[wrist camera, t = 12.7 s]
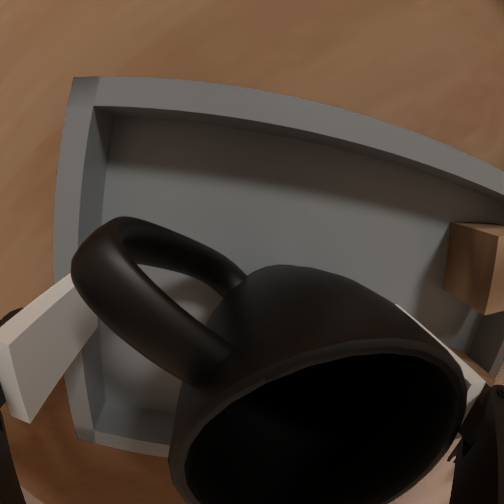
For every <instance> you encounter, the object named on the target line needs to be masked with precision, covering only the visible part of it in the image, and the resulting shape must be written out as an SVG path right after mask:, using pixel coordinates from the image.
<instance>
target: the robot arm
mask: <svg viewBox="0 0 504 504" xmlns="http://www.w3.org/2000/svg"><path fill="white" fill-rule="evenodd" d="M395 305H396V306H397V307H399V308H400V309H401V310H402V311H404V312H405V313H406V314H407V315H408V316H410V317H411V318H412V319H413V320H414V321H415V322H417V323H418V324H419V325H420V326H421V327H422V328H423V329H425V330H426V331H427V332H428V333H429V334H430V335H431V336H432V337H434V338H435V339H436V340H437V341H438V342H439V343H440V344H441V345H443V346H444V347H445V348H446V349H447V350H448V351H449V353H450V354H451V355H452V356H453V358H454V359H455V360H456V361H457V362H458V364H459V365H460V366H461V369H462V372H463V375H464V379H465V382H466V386H467V406H466V412H465V415H464V418H463V421H462V424H461V427H460V430H459V434H460V435H461V436H462V438H461V440H460V441H459V443H458V444H457V446H456V447H455V449H454V450H453V452H452V453H451V455H450V456H449V457H448V460H447V461H449V462H450V460H451V459H452V457H454V456H456V459H455V460H454V462H453V463H455V470H454V478H453V485H452V491H451V497H450V502H449V504H504V386H503V385H494V386H492V387H490V386H489V385H488V384H487V383H486V381H485V380H483V379H482V378H481V377H480V376H479V375H478V374H477V373H476V372H475V371H474V370H473V369H471V368H470V367H469V366H468V365H467V364H466V363H465V362H464V361H463V360H462V359H460V358H459V357H458V356H457V355H456V354H455V353H454V352H453V351H451V350H450V349H449V348H448V347H447V346H446V345H445V344H443V343H442V342H441V341H440V340H439V339H438V338H437V337H435V336H434V335H433V334H432V333H431V332H430V331H429V330H427V329H426V328H425V327H424V326H423V325H422V324H420V323H419V322H418V321H417V320H416V319H415V318H413V317H412V316H411V315H410V314H409V313H407V312H406V311H405V310H404V309H403V308H402V307H400V306H399V305H398V304H395ZM97 327H98V317H97V315H96V314H95V313H94V312H93V311H92V310H91V309H90V308H89V307H88V305H87V304H86V303H85V302H84V300H83V299H82V298H81V296H80V295H79V293H78V292H77V290H76V288H75V286H74V284H73V282H72V279H71V273H70V274H68V275H67V276H66V277H64V278H63V279H61V280H60V281H59V282H57V283H56V284H55V285H53V286H52V287H51V288H49V289H48V290H47V291H45V292H44V293H43V294H41V295H40V296H39V297H38V298H36V299H35V300H34V301H32V302H31V303H30V304H29V305H27V306H26V307H25V308H19V309H16V310H14V311H11V312H10V313H8V314H7V315H6V316H4V317H3V318H2V320H0V408H1V407H2V406H3V404H4V403H5V402H6V404H7V407H8V410H9V413H10V415H11V416H12V417H14V418H17V419H19V420H22V421H24V422H27V423H29V424H31V422H32V421H33V419H34V418H35V416H36V415H37V413H38V411H39V410H40V408H41V407H42V405H43V404H44V402H45V401H46V399H47V398H48V396H49V395H50V393H51V392H52V390H53V389H54V387H55V386H56V384H57V383H58V381H59V380H60V379H61V377H62V376H63V374H64V373H65V371H66V370H67V368H68V367H69V366H70V364H71V363H72V361H73V360H74V359H75V357H76V356H77V354H78V353H79V352H80V350H81V349H82V347H83V346H84V345H85V343H86V342H87V341H88V339H89V338H90V336H91V335H92V334H93V332H94V331H95V330H96V328H97ZM0 504H26V502H25V499H24V496H23V493H22V490H21V487H20V484H19V481H18V478H17V475H16V471H15V468H14V464H13V460H12V457H11V453H10V449H9V445H8V440H7V436H6V431H5V426H4V421H3V417H2V414H1V411H0Z"/></svg>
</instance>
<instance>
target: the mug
mask: <svg viewBox="0 0 504 504" xmlns="http://www.w3.org/2000/svg"><path fill="white" fill-rule="evenodd" d="M137 264H141V265H147V266H152V267H157V268H162V269H166V270H170V271H174V272H178V273H181V274H185V275H188V276H190V277H193V278H195V279H198V280H200V281H201V282H203V283H205V284H207V285H208V286H209V287H211V288H212V289H213V290H215V291H216V292H217V293H218V294H219V295H220V296H221V297H222V298H223V300H222V301H221V302H220V303H219V304H218V306H217V307H216V308H215V310H214V311H213V312H212V314H211V315H210V317H209V319H208V321H207V322H206V324H205V325H203V324H202V323H201V322H199V321H198V320H197V319H196V318H194V317H193V316H192V315H190V314H189V313H188V312H187V311H185V310H184V309H183V308H182V307H181V306H179V305H178V304H177V303H176V302H175V301H174V300H172V299H171V298H170V297H169V296H168V295H167V294H166V293H165V292H164V291H163V290H161V289H160V288H159V287H158V286H157V285H156V284H155V283H154V282H153V281H152V280H151V279H150V278H149V277H148V276H147V275H146V274H145V273H144V272H143V271H142V269H141V268H140V267H139V266H138V265H137ZM70 273H71V279H72V282H73V284H74V286H75V288H76V290H77V292H78V293H79V295H80V296H81V298H82V299H83V300H84V302H85V303H86V304H87V305H88V307H89V308H90V309H91V310H92V311H93V312H94V313H95V314H96V315H97V317H98V318H99V319H100V320H101V321H102V322H103V323H104V324H105V325H106V326H107V327H108V328H110V329H111V330H112V331H113V332H114V333H115V334H116V335H117V336H119V337H120V338H121V339H122V340H123V341H125V342H126V343H127V344H128V345H130V346H131V347H132V348H133V349H135V350H136V351H137V352H139V353H140V354H141V355H143V356H144V357H145V358H147V359H148V360H150V361H151V362H153V363H154V364H156V365H157V366H159V367H160V368H162V369H163V370H165V371H166V372H168V373H170V374H171V375H173V376H175V377H176V378H178V379H180V380H182V383H181V388H180V392H179V397H178V402H177V407H176V412H175V418H174V424H173V430H172V436H171V442H170V448H169V454H168V463H169V468H170V473H171V478H172V481H173V484H174V485H175V487H176V489H177V490H178V492H179V493H180V495H181V496H182V498H183V499H184V500H185V501H186V502H187V503H188V504H388V503H390V502H392V501H393V500H395V499H396V498H398V497H399V496H401V495H402V494H404V493H405V492H407V491H408V490H409V489H411V488H412V487H413V486H415V485H416V484H417V483H418V482H419V481H420V480H421V479H422V478H424V477H425V476H426V475H427V474H428V473H429V472H430V471H431V470H432V469H433V468H434V467H435V466H436V464H437V463H438V462H439V461H440V460H441V458H442V457H443V456H444V455H445V453H446V452H447V451H448V449H449V448H450V446H451V444H452V443H453V441H454V439H455V437H456V436H457V434H458V432H459V430H460V427H461V424H462V421H463V418H464V415H465V412H466V406H467V386H466V382H465V379H464V375H463V372H462V369H461V366H460V365H459V364H458V362H457V361H456V360H455V359H454V358H453V356H452V355H451V354H450V353H449V351H448V350H447V349H446V348H445V347H444V346H443V345H441V344H440V343H439V342H438V341H437V340H436V339H435V338H434V337H432V336H431V335H430V334H429V333H428V332H427V331H426V330H425V329H423V328H422V327H421V326H420V325H419V324H418V323H417V322H415V321H414V320H413V319H412V318H411V317H410V316H408V315H407V314H406V313H405V312H404V311H402V310H401V309H400V308H399V307H397V306H396V305H395V304H394V303H393V302H391V301H389V300H388V299H386V298H384V297H383V296H381V295H379V294H377V293H376V292H374V291H372V290H370V289H368V288H367V287H365V286H363V285H361V284H360V283H358V282H356V281H354V280H352V279H349V278H347V277H344V276H342V275H338V274H335V273H331V272H327V271H323V270H320V269H316V268H312V267H305V266H295V265H285V264H277V265H272V266H266V267H263V268H261V269H258V270H256V271H254V272H252V273H250V274H249V275H246V274H245V273H244V272H243V271H242V270H241V269H240V268H239V267H238V266H237V265H236V264H235V263H233V262H232V261H231V260H230V259H228V258H227V257H226V256H224V255H223V254H221V253H219V252H218V251H216V250H214V249H212V248H210V247H208V246H206V245H204V244H202V243H200V242H198V241H195V240H193V239H191V238H189V237H186V236H184V235H182V234H179V233H177V232H175V231H172V230H170V229H167V228H165V227H162V226H159V225H157V224H154V223H151V222H148V221H146V220H142V219H139V218H135V217H129V216H121V217H116V218H114V219H112V220H110V221H108V222H107V223H105V224H103V225H102V226H100V227H98V228H97V229H96V230H95V231H94V232H93V233H92V234H91V235H90V236H89V237H88V238H87V239H86V240H85V241H84V242H83V243H82V244H81V245H80V247H79V248H78V250H77V251H76V253H75V254H74V256H73V257H72V261H71V271H70Z"/></svg>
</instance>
